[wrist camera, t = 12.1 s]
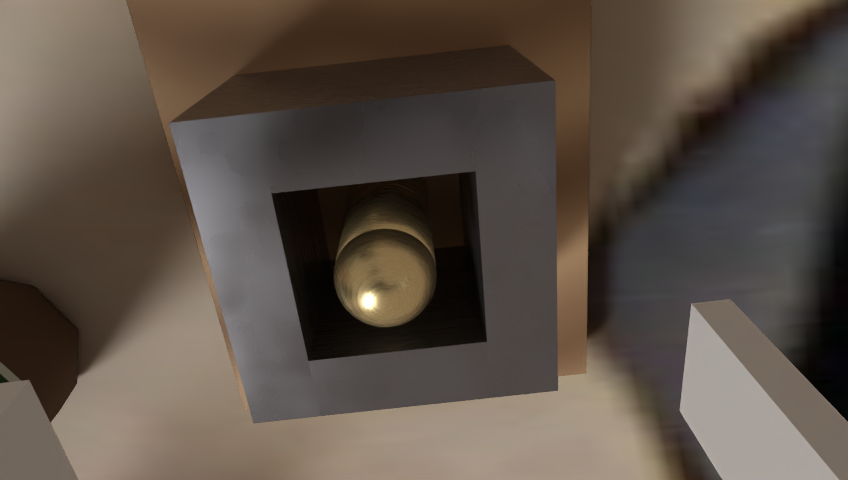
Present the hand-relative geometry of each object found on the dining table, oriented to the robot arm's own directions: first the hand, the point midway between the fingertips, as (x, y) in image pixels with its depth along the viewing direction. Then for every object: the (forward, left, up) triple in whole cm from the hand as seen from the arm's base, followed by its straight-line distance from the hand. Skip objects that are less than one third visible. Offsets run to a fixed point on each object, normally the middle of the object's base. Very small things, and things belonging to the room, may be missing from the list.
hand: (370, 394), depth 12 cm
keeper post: (0, 0, -13) cm, 13 cm away
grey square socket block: (0, 0, -13) cm, 13 cm away
